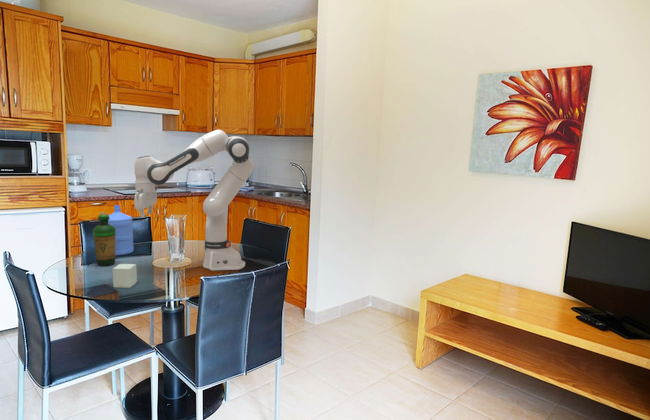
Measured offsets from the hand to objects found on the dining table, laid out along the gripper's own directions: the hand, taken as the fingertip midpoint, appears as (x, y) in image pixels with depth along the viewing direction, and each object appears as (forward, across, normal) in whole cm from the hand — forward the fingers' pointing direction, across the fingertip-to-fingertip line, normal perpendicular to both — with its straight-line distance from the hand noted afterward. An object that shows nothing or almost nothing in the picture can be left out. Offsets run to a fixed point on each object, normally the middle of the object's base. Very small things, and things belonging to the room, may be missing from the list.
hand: (146, 215), depth 209 cm
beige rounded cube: (+28, -24, +2) cm, 37 cm away
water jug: (+28, +31, +29) cm, 51 cm away
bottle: (+28, +7, +25) cm, 39 cm away
